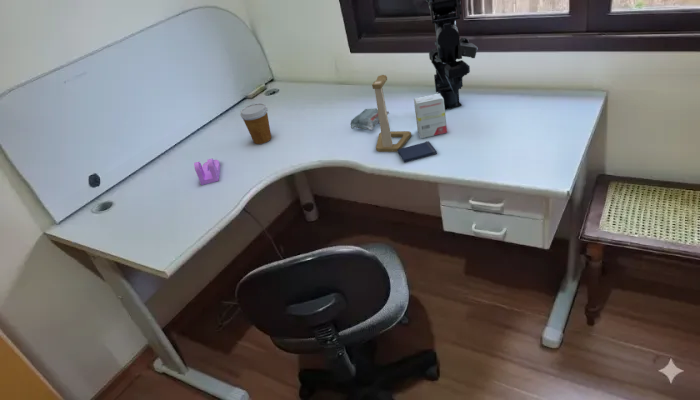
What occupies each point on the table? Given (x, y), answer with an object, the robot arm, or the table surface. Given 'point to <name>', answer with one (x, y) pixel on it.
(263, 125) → the disposable coffee cup
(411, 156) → the notepad
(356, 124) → the packaged food
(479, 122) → the table surface
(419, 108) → the ink box
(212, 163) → the bracket
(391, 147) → the headphone stand
